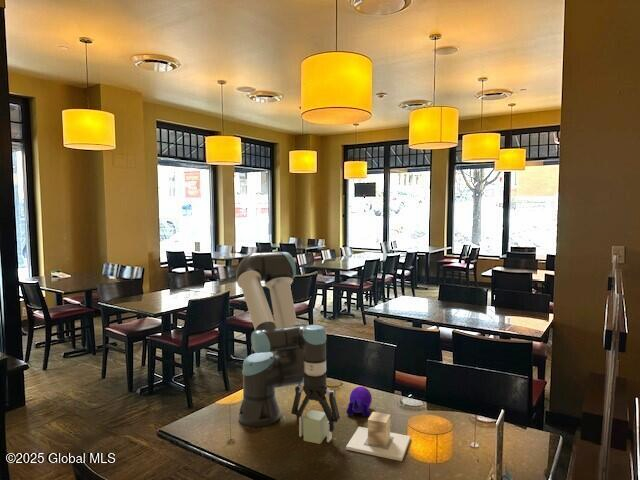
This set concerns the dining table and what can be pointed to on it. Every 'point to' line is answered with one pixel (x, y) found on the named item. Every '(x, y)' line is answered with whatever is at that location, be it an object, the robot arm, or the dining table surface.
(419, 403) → the dining table surface
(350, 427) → the dining table surface
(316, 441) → the block sage
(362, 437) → the base plate
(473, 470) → the dining table surface
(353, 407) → the toy
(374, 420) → the block maple
